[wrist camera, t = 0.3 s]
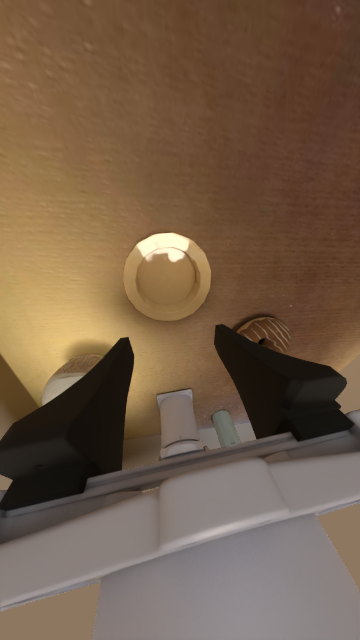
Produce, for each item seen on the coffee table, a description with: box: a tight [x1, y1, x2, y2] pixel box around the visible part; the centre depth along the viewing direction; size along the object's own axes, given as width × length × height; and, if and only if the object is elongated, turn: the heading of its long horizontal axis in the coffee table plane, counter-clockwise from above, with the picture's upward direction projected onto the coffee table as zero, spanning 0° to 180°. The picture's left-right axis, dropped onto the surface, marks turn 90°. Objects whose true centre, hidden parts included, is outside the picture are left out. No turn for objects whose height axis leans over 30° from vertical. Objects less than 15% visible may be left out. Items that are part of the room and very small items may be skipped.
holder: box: [123, 233, 211, 321], centre depth 18 cm, size 10×10×3 cm
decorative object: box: [42, 354, 104, 405], centre depth 20 cm, size 9×9×10 cm
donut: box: [236, 317, 290, 354], centre depth 25 cm, size 11×11×4 cm
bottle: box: [212, 410, 241, 448], centre depth 36 cm, size 5×5×10 cm
